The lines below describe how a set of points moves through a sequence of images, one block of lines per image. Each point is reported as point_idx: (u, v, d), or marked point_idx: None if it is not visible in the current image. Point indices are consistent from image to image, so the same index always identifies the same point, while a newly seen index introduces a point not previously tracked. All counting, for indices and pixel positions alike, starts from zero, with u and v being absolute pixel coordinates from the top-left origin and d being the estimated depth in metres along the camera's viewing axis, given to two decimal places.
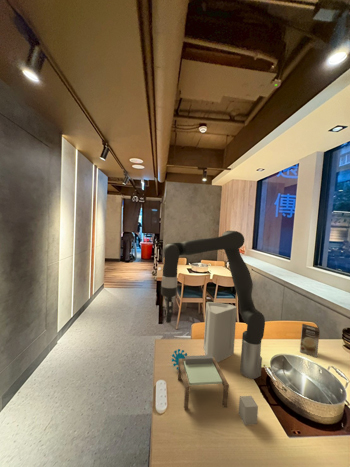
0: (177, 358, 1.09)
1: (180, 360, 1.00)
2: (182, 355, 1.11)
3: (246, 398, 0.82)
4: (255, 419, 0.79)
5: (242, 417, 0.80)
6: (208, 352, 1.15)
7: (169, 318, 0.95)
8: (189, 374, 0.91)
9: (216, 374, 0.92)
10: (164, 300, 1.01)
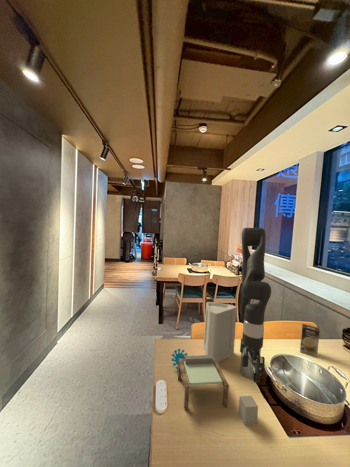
0: (177, 358, 1.10)
1: (180, 360, 1.00)
2: (182, 355, 1.12)
3: (247, 398, 0.82)
4: (255, 419, 0.79)
5: (242, 417, 0.80)
6: (208, 352, 1.15)
7: (258, 377, 0.76)
8: (189, 374, 0.91)
9: (216, 374, 0.92)
10: (245, 350, 0.82)
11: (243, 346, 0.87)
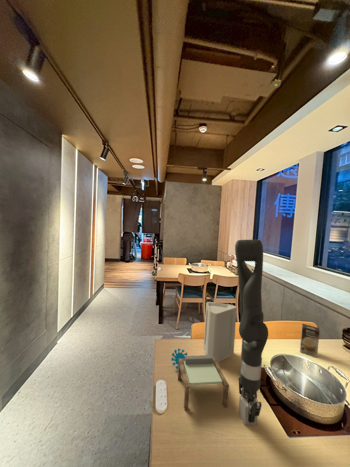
0: (177, 357, 1.10)
1: (180, 360, 1.00)
2: (182, 355, 1.12)
3: None
4: (255, 419, 0.79)
5: (242, 417, 0.80)
6: (208, 352, 1.15)
7: (253, 418, 0.78)
8: (189, 374, 0.91)
9: (216, 374, 0.92)
10: (243, 390, 0.82)
11: (241, 386, 0.86)
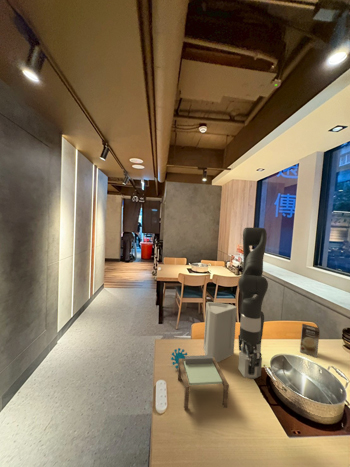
0: (177, 357, 1.10)
1: (180, 360, 1.00)
2: (182, 354, 1.12)
3: (246, 353, 0.83)
4: (255, 372, 0.80)
5: (242, 370, 0.81)
6: (208, 352, 1.15)
7: (253, 370, 0.78)
8: (189, 374, 0.91)
9: (216, 374, 0.92)
10: (243, 344, 0.82)
11: (241, 343, 0.86)
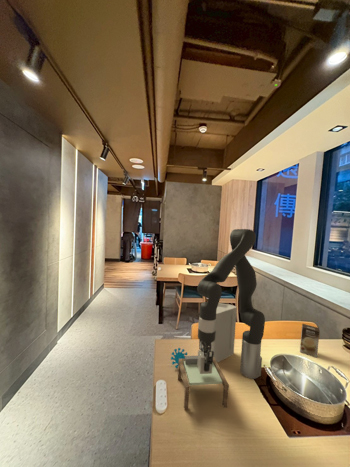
0: (176, 357, 1.11)
1: (180, 360, 1.00)
2: (182, 354, 1.12)
3: None
4: (210, 369, 0.88)
5: (199, 367, 0.89)
6: None
7: (208, 367, 0.86)
8: (189, 374, 0.91)
9: (216, 374, 0.92)
10: (201, 344, 0.90)
11: None
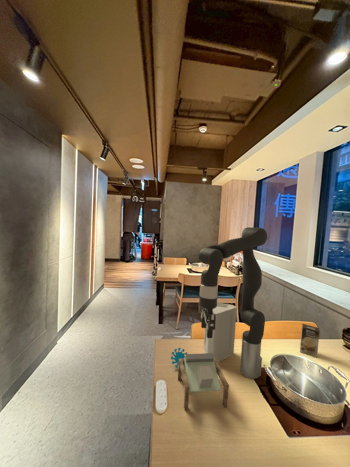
0: (176, 356, 1.11)
1: (180, 360, 1.00)
2: (182, 354, 1.12)
3: (205, 369, 0.88)
4: (209, 385, 0.88)
5: (198, 381, 0.89)
6: (208, 352, 1.15)
7: (211, 333, 0.84)
8: (189, 378, 0.91)
9: (216, 378, 0.92)
10: (202, 312, 0.90)
11: None
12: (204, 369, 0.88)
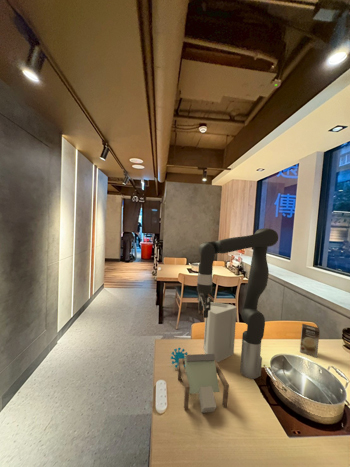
0: (176, 356, 1.11)
1: (180, 360, 1.00)
2: (182, 354, 1.13)
3: (209, 408, 0.81)
4: None
5: (199, 394, 0.87)
6: (208, 352, 1.15)
7: (206, 313, 1.01)
8: (188, 379, 0.92)
9: (215, 379, 0.93)
10: (199, 296, 1.06)
11: None
12: (208, 408, 0.81)
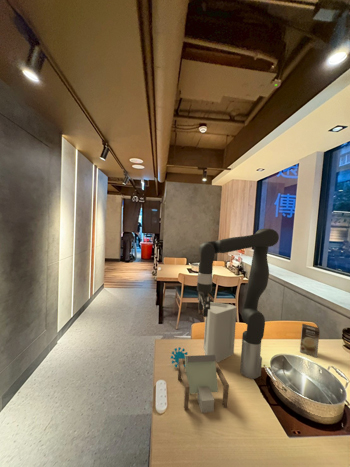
0: (176, 356, 1.11)
1: (180, 360, 1.00)
2: (182, 354, 1.13)
3: (207, 403, 0.83)
4: None
5: (198, 397, 0.89)
6: (208, 352, 1.15)
7: (206, 312, 1.01)
8: (188, 379, 0.92)
9: (214, 380, 0.93)
10: (199, 296, 1.07)
11: None
12: (206, 403, 0.83)
